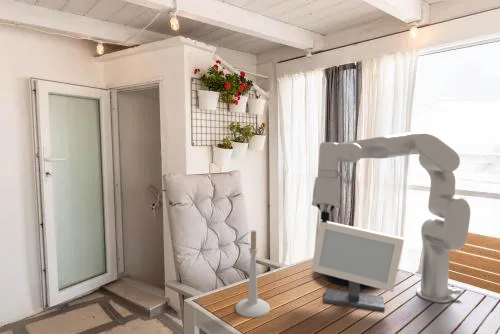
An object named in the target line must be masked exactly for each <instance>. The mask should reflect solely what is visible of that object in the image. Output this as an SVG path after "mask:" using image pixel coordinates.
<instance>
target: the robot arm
mask: <svg viewBox="0 0 500 334" xmlns="http://www.w3.org/2000/svg"><path fill="white" fill-rule="evenodd" d="M318 151H319V153H318V164H317V165H318V166H317V169H318V170H317V176H316V177H315V179H314V185H313V191H312V201H311V206H313V207H315V208H318V210H319V211H320V220H322V222H324V221H325V223H326V222H327V221H330V212H332V211H333V210H334V209H335V210H336V209H340V208H341V203H340V202H341V179H340V178H339V177H343V172H340V171H339V168H340V167H339V165H340V162H345V163H350V164H352V163H353V164H354V163H356V162H359V161H360V160H361V159H389V158H390V159H391V158H396V157H401V156H402V157H403V156H404V157H405V156H409V155H418V161H419V164H420V166H421V168H423V169H424V170H426V172H427V173H428V175H429V177H430V188H429V197H428V211H429V212H430V213H431V214H432V215H433V216H436V217H440V218H441V219H438V218H429V219H427V220H425V221H424V222H423V223H422V225H421V230H420V233H421V240H422V257H421V261H422V262H421V276H420V286H419V287H417V288H416V295H418V297H420V298H422V299H424V300H426V301H428V302H429V301H430V302H433V303H439V304H443V303H444V304H445V303H449V302H451V301H452V297H453V296H452V295H461V294H462V291H461V290H460V289H458V288H457V289H456V288H455V287H453V286H449V273H450V272H449V270H450V251H459V250H461V249H462V248H463V247H464V246H466V245H465V244H466V242H467V240H468V234H469V227H470V220H471V206H470V204H469V203H468V201H467V200H465V198H463V197H461V196H456V177H455V173H454V171H456V170H457V169H458V168H459V167H460V163H461V160H460V159H461V158H460V155H459V154H458V153H457V151H455V150H454V149H453V148H451V147H450V146H449V145H448V144H446V143H445V142H444V141H442V140H441V139H440V138H438V137H437V136H435V135H434V134H433V133H430V132H428V131H427V132H426V131H419V132H417V131H414V132H405V133H399V134H398V133H396V134H391V135H385V136H383V135H382V136H377V137H371V138H365V139H357V140H352V141H344V142H339V143H338V142H336V141H335V142H334V141H333V142H331V141H329V142H328V141H323V142H321V143H320V144H319V148H318ZM325 205H327V209H325ZM442 219H443V220H442Z"/></svg>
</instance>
